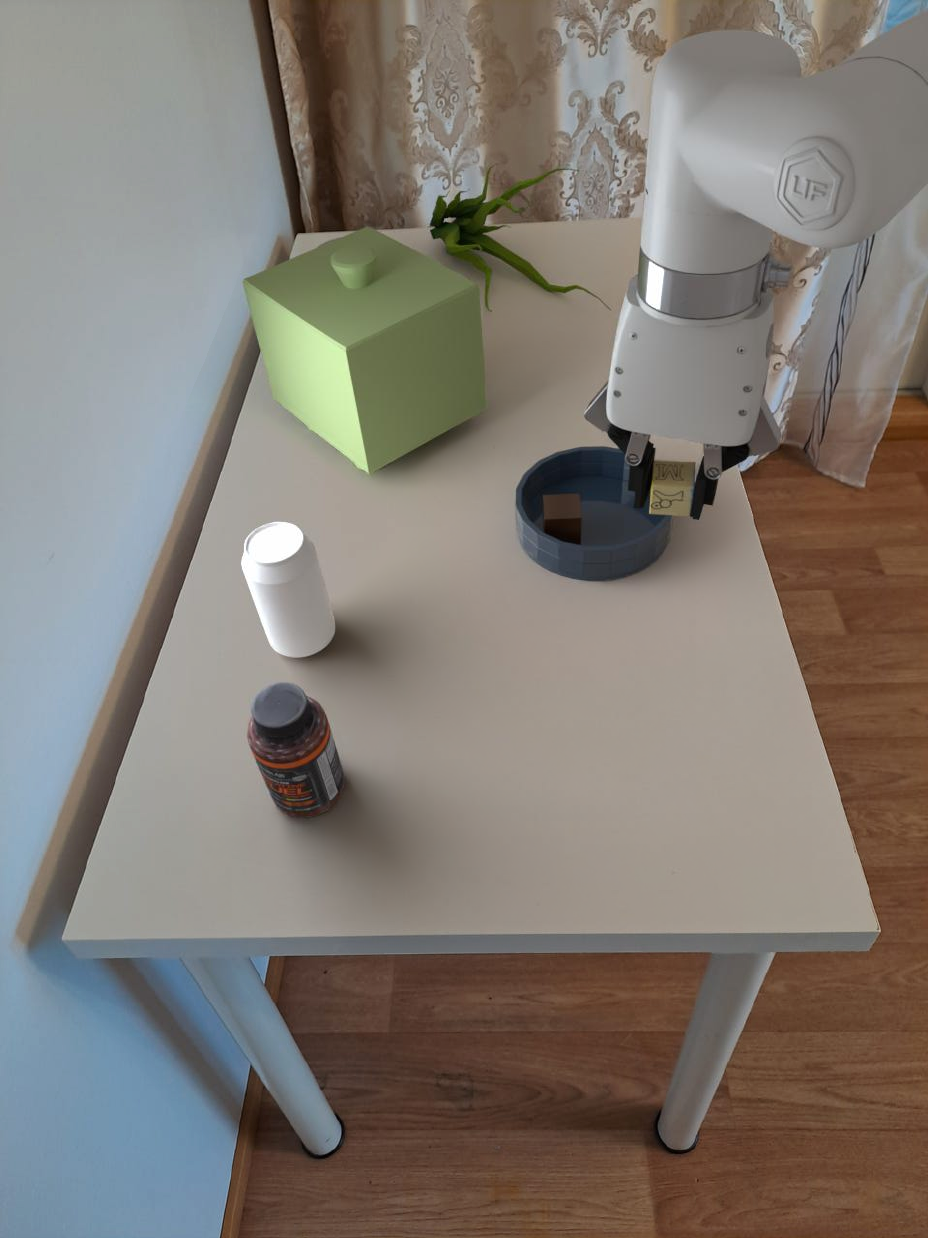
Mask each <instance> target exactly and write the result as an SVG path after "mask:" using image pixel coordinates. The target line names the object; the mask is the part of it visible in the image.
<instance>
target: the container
mask: <svg viewBox="0 0 928 1238" xmlns="http://www.w3.org/2000/svg"><path fill="white" fill-rule="evenodd" d="M340 237H341V238H340ZM340 237H338V238H339V239H337V240H334V241H332V242H329V243H327V244H325V245H322V246H320V247H318V246H317V247H318V248H317V247H314V248H313V249H311V250H308V251H306V252H304V253H302V254H299V255H297V256H294V257H292V258H289V259H287V260H285V261H282V262H280V263H278V264H276V265H274V266H271V267H269V268H266V269H264V270H262V271H260V272H257V273H255V274H252V275H251V276H248V277H246V278H245V277H244V278H243V280H242V287H243V290H244V293H245V297H246V301H247V305H248V308H249V313H250V316H251V320H252V323H253V327H254V331H255V335H256V339H257V343H258V346H259V349H260V354H261V356H262V357H261V358H262V361H263V364H264V368H265V372H266V376H267V379H268V380H267V381H268V383H269V386H270V390H271V394H272V398H273V400H274V401H275V402H277V403H278V404H279V405H280V406H282V408H284V409H285V410H286V411H288V412H289V413H290V414H292V415H293V416H294V417H295V418H296V419H298V420H299V421H300V422H301V423H303V424H304V425H305V427H306V429H307V430H309V431H310V432H313V433H315V434H317V435H318V436H319V437H321V438H322V439H323V440H324V441H326V442H327V443H328V444H329V445H331V446H332V447H333V448H335V450H337V451H338V452H340V453H341V454H342V455H343V456H345V457H346V458H348V459H349V460H350V461H351V462H352V463H353V464H354V466H355V467H356V469H358V470H360V471H365V473H367V474H368V475H371V474H373V473H374V472H376V471H378V470H380V469H383V468H385V467H386V466H387V465H388V464H390V463H393V462H394V461H396V460H398V459H399V458H401V457H404V455H406V454H408V453H410V452H412V451H414V450H415V449H418V448H419V447H421V446H422V445H423V446H424V444H426V443H427V442H430V441H432V440H434V439H435V438H437V437H439V436H441V435H443V434H444V433H446V432H448V431H450V430H452V429H454V428H455V427H456V426H458V425H460V424H462V423H464V422H466V421H468V420H469V419H471V418H473V417H475V416H476V415H478V414H480V413H481V412H484V411H486V410H487V409H488V403H487V384H486V370H485V352H484V338H483V337H484V336H483V324H482V322H483V321H482V308H481V295H480V294H481V293H480V286H479V285H478V284H477V282H474V281H473V280H471V279H469V278H467V277H466V276H464V275H462V274H461V273H459V272H457V271H454V270H452V268H451V269H450V268H449V267H447V266H445V265H444V264H442V263H440V262H438V261H436V260H434V259H432V258H430V257H428V256H426V255H424V254H423V253H421V252H419V251H417V250H416V249H413V248H412V247H410V246H408V245H405V244H403V243H402V242H400V241H398V240H396V239H394V238H393V237H390V236H388V235H386V234H384V233H383V232H381V231H378V230H377V229H374V228H372V227H371V226H364V227H363V228H360V229H358V230H355V231H353V232H351V233H349V234H346V235H343V236H340Z"/></svg>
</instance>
